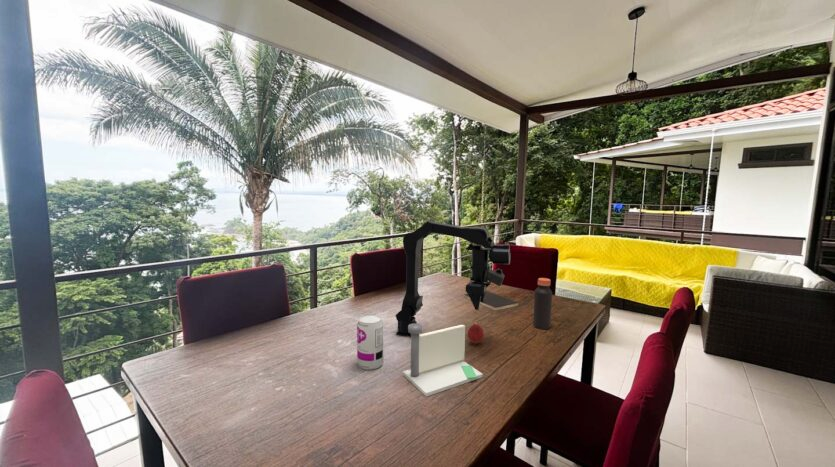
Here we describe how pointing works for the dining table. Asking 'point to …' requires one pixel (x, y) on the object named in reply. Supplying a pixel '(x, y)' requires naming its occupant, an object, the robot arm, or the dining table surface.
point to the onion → (475, 333)
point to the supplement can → (370, 342)
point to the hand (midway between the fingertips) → (479, 305)
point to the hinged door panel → (435, 347)
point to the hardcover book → (496, 301)
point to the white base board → (443, 377)
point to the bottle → (542, 304)
